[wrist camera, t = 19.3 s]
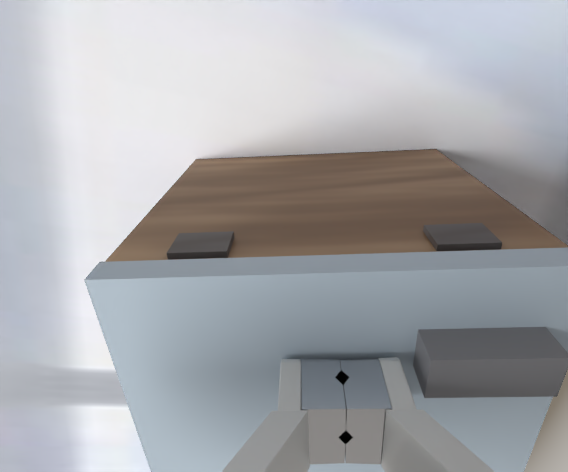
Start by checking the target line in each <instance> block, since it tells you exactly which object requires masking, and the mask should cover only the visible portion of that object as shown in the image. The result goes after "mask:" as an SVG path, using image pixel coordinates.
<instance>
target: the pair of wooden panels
mask: <svg viewBox="0 0 568 472" xmlns="http://www.w3.org/2000/svg"><path fill="white" fill-rule="evenodd" d="M537 248H568V245H566V244H565V243H563V242H562V241H561V240H559V239H558V238H557V237H555V236H554V235H553V234H551V233H550V232H548V231H547V230H546V229H544V228H543V227H542V226H540V225H539V224H538V223H536V222H535V221H533V220H532V219H531V218H529V217H528V216H527V215H525V214H524V213H523V212H521V211H520V210H518V209H517V208H516V207H514V206H513V205H512V204H510V203H509V202H508V201H506V200H505V199H503V198H502V197H501V196H499V195H498V194H497V193H495V192H494V191H492V190H491V189H490V188H488V187H487V186H486V185H484V184H483V183H482V182H480V181H479V180H477V179H476V178H475V177H473V176H472V175H471V174H469V173H468V172H467V171H465V170H464V169H462V168H461V167H460V166H458V165H457V164H456V163H454V162H453V161H452V160H450V159H449V158H447V157H446V156H445V155H443V154H442V153H441V152H439V151H438V150H437V149H428V150H404V151H381V152H358V153H335V154H311V155H288V156H265V157H242V158H219V159H196V160H195V161H194V162H193V163H192V164H191V166H190V167H189V168H188V169H187V170H186V171H185V172H184V173H183V175H182V176H181V177H180V178H179V179H178V180H177V181H176V182H175V184H174V185H173V186H172V187H171V188H170V189H169V190H168V191H167V193H166V194H165V195H164V196H163V197H162V198H161V199H160V200H159V202H158V203H157V204H156V205H155V206H154V207H153V208H152V209H151V211H150V212H149V213H148V214H147V215H146V216H145V217H144V218H143V220H142V221H141V222H140V223H139V224H138V225H137V226H136V227H135V229H134V230H133V231H132V232H131V233H130V234H129V235H128V236H127V238H126V239H125V240H124V241H123V242H122V243H121V244H120V245H119V247H118V248H117V249H116V250H115V251H114V252H113V253H112V254H111V256H110V257H109V258H108V259H107V260H106V261H105V262H113V261H146V260H178V259H211V258H243V257H276V256H309V255H341V254H374V253H407V252H439V251H472V250H504V249H537Z"/></svg>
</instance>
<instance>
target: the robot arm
mask: <svg viewBox="0 0 568 472" xmlns="http://www.w3.org/2000/svg"><path fill="white" fill-rule="evenodd" d="M339 463H350V464H381V467H382V468H383V469H384V471H385V472H495V471H493V470H492V469H491V468H490V467H489V466H488V465H486V464H485V463H484V462H483V461H482V460H481V459H480V458H478V457H477V456H476V455H475V454H474V453H473V452H471V451H470V450H469V449H468V448H467V447H466V446H465V445H463V444H462V443H461V442H460V441H459V440H458V439H456V438H455V437H454V436H453V435H452V434H451V433H450V432H448V431H447V430H446V429H445V428H444V427H443V426H441V425H440V424H439V423H438V422H437V421H436V420H435V419H433V418H432V417H431V416H430V415H429V414H428V413H426V412H425V411H424V410H417V409H416V406H415V403H414V400H413V397H412V394H411V391H410V388H409V385H408V382H407V379H406V376H405V373H404V370H403V367H402V364H401V361H400V359H399V358H398V357H390V358H378V359H377V358H359V359H282V360H281V363H280V379H279V397H278V411H271V412H270V414H269V415H268V416H267V417H266V418H265V420H264V421H263V422H262V423H261V424H260V426H259V427H258V428H257V429H256V431H255V432H254V433H253V434H252V435H251V437H250V438H249V439H248V440H247V441H246V443H245V444H244V445H243V446H242V448H241V449H240V450H239V451H238V452H237V454H236V455H235V456H234V457H233V458H232V460H231V461H230V462H229V463H228V465H227V466H226V467H225V468H224V469H223V471H222V472H307V471H308V469H309V467H310V464H339Z"/></svg>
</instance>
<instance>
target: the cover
mask: <svg viewBox="0 0 568 472" xmlns="http://www.w3.org/2000/svg"><path fill="white" fill-rule="evenodd" d="M85 283H86V286H87V289H88V292H89V295H90V298H91V300H92V303H93V306H94V309H95V312H96V315H97V318H98V321H99V323H100V326H101V329H102V332H103V335H104V338H105V341H106V344H107V346H108V349H109V352H110V355H111V358H112V361H113V364H114V366H115V369H116V372H117V375H118V378H119V381H120V384H121V387H122V389H123V392H124V395H125V398H126V401H127V404H128V407H129V410H130V412H131V415H132V418H133V421H134V424H135V427H136V430H137V433H138V435H139V438H140V441H141V444H142V447H143V450H144V453H145V456H146V458H147V461H148V464H149V467H150V470H151V472H222V471H223V469H224V468H225V467H226V466H227V465H228V463H229V462H230V461H231V460H232V458H233V457H234V456H235V455H236V454H237V452H238V451H239V450H240V449H241V448H242V446H243V445H244V444H245V443H246V441H247V440H248V439H249V438H250V437H251V435H252V434H253V433H254V432H255V431H256V429H257V428H258V427H259V426H260V424H261V423H262V422H263V421H264V420H265V418H266V417H267V416H268V415H269V414H270V412H271V411H278V397H279V379H280V363H281V360H282V359H359V358H377V359H378V358H390V357H398V358H399V359H400V361H401V364H402V367H403V370H404V373H405V376H406V379H407V382H408V385H409V388H410V391H411V394H412V397H413V400H414V403H415V406H416V409H417V410H424V411H425V412H426V413H428V414H429V415H430V416H431V417H432V418H433V419H435V420H436V421H437V422H438V423H439V424H440V425H441V426H443V427H444V428H445V429H446V430H447V431H448V432H450V433H451V434H452V435H453V436H454V437H455V438H456V439H458V440H459V441H460V442H461V443H462V444H463V445H465V446H466V447H467V448H468V449H469V450H470V451H471V452H473V453H474V454H475V455H476V456H477V457H478V458H480V459H481V460H482V461H483V462H484V463H485V464H486V465H488V466H489V467H490V468H491V469H492V470H493V471H495V472H524V470H525V467H526V464H527V462H528V459H529V457H530V454H531V452H532V449H533V446H534V444H535V441H536V439H537V436H538V434H539V431H540V428H541V426H542V423H543V420H544V418H545V415H546V413H547V410H548V408H549V405H550V403H551V400H552V398H553V397H555V396H557V395H558V392H559V390H560V387H561V385H562V382H563V380H564V377H565V375H566V372H567V370H568V248H537V249H504V250H472V251H439V252H407V253H374V254H341V255H309V256H276V257H243V258H211V259H178V260H146V261H113V262H99V263H98V265H97V266H96V267H95V268H94V269H93V270H92V272H91V273H90V274H89V275H88V276H87V277H86V279H85ZM307 472H385V471H384V469H383V468H382V467H381V464H350V463H339V464H310V467H309V469H308V471H307Z"/></svg>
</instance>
